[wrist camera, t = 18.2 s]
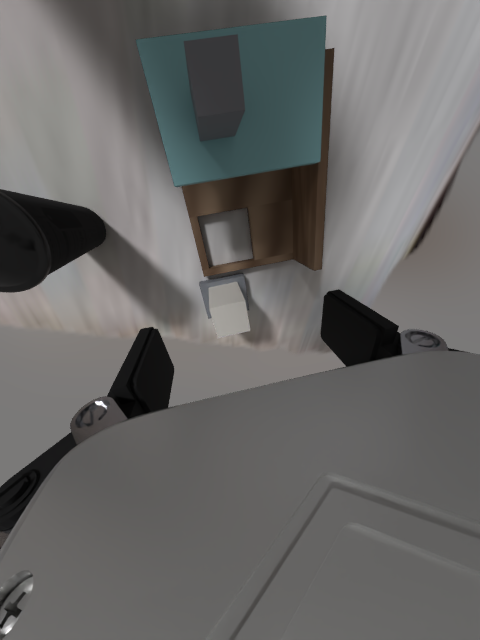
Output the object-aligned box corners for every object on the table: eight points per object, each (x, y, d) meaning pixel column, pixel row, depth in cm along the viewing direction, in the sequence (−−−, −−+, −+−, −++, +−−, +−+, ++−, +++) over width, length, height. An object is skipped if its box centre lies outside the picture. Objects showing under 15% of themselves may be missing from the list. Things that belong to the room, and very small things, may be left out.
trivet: (208, 314, 34) (208, 318, 33) (199, 281, 31) (199, 284, 30) (247, 306, 35) (249, 310, 33) (242, 273, 32) (244, 275, 30)
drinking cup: (48, 180, 23) (-437, 87, 6) (120, 208, 25) (-65, 203, 8) (50, 245, 26) (-260, 315, 9) (114, 265, 28) (-30, 351, 11)
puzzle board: (204, 274, 31) (203, 292, 24) (164, 117, 22) (146, 73, 15) (296, 256, 32) (321, 269, 25) (295, 97, 23) (334, 48, 16)
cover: (175, 187, 19) (164, 178, 13) (139, 49, 14) (102, -42, 9) (315, 163, 19) (355, 146, 14) (319, 26, 15) (379, -70, 10)
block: (215, 313, 33) (217, 338, 26) (208, 287, 30) (209, 308, 24) (241, 307, 33) (250, 330, 26) (236, 281, 31) (245, 300, 24)
